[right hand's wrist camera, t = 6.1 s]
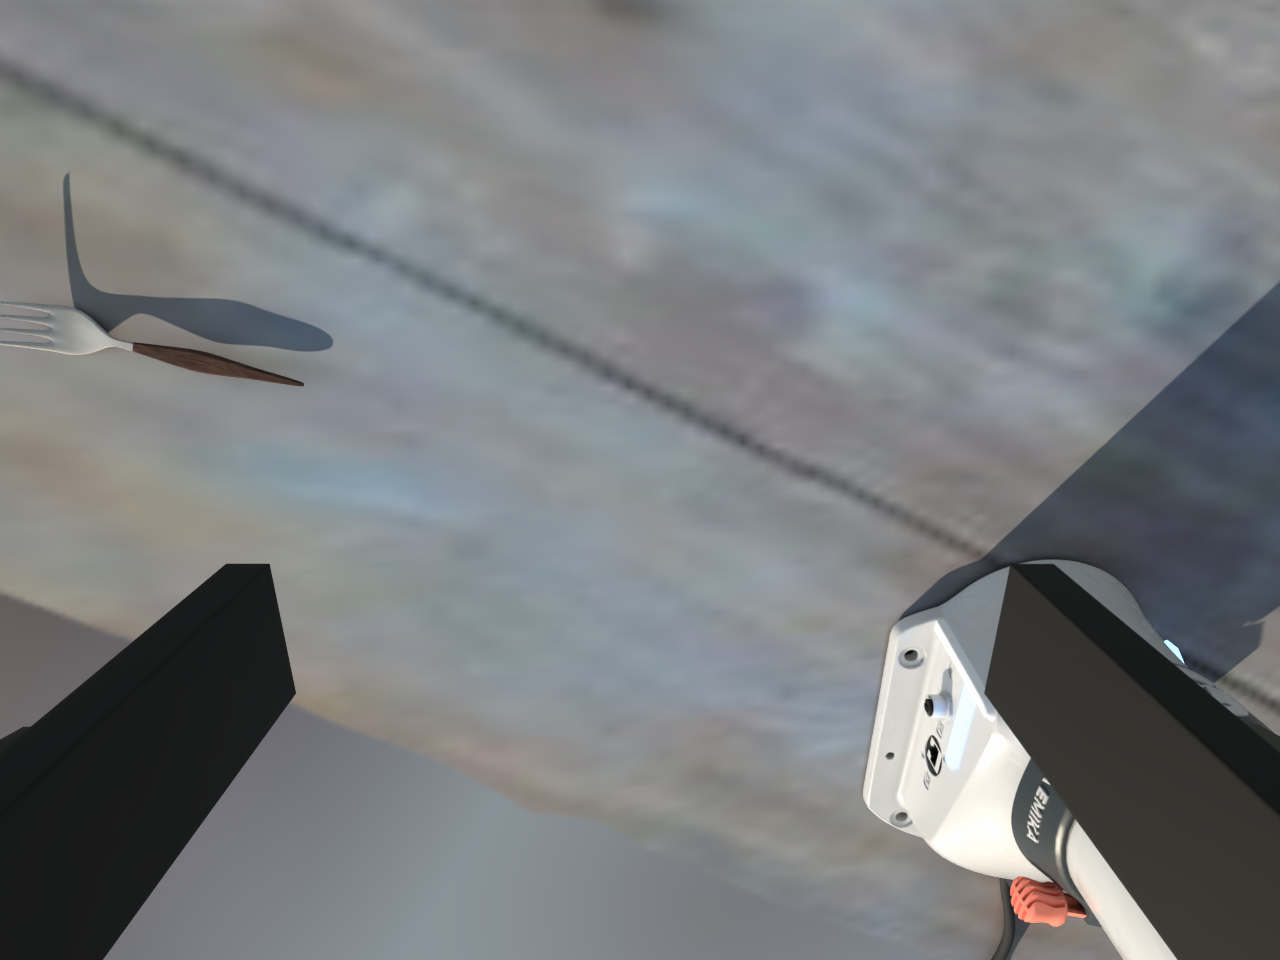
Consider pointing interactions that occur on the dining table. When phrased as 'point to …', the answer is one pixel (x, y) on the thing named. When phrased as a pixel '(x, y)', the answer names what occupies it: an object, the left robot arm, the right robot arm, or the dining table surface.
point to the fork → (121, 343)
